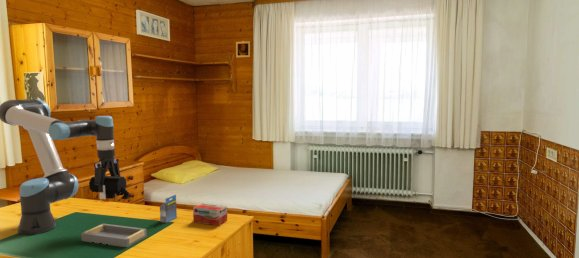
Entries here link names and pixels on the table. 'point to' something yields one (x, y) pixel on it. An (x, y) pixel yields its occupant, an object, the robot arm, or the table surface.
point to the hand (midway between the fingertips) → (108, 196)
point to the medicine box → (210, 214)
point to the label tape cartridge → (168, 210)
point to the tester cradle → (114, 235)
